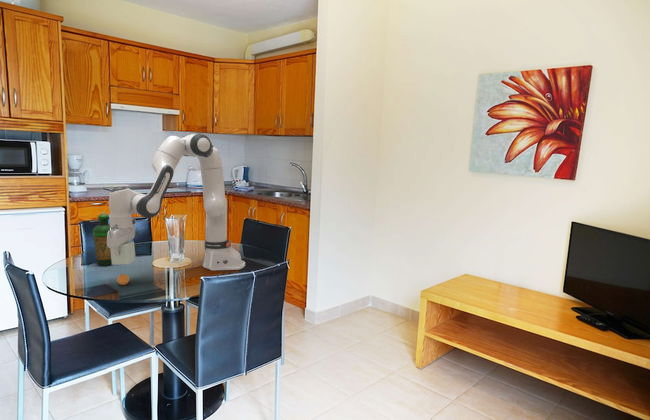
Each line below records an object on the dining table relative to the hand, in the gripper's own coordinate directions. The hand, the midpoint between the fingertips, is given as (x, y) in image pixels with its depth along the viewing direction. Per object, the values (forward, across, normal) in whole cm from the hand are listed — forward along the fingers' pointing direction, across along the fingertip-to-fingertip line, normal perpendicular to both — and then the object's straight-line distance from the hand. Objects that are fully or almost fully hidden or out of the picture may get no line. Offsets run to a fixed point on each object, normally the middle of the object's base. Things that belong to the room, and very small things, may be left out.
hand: (121, 252), depth 187 cm
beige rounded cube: (+4, 0, -1) cm, 4 cm away
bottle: (+15, +31, +23) cm, 41 cm away
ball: (+13, 0, 0) cm, 13 cm away
